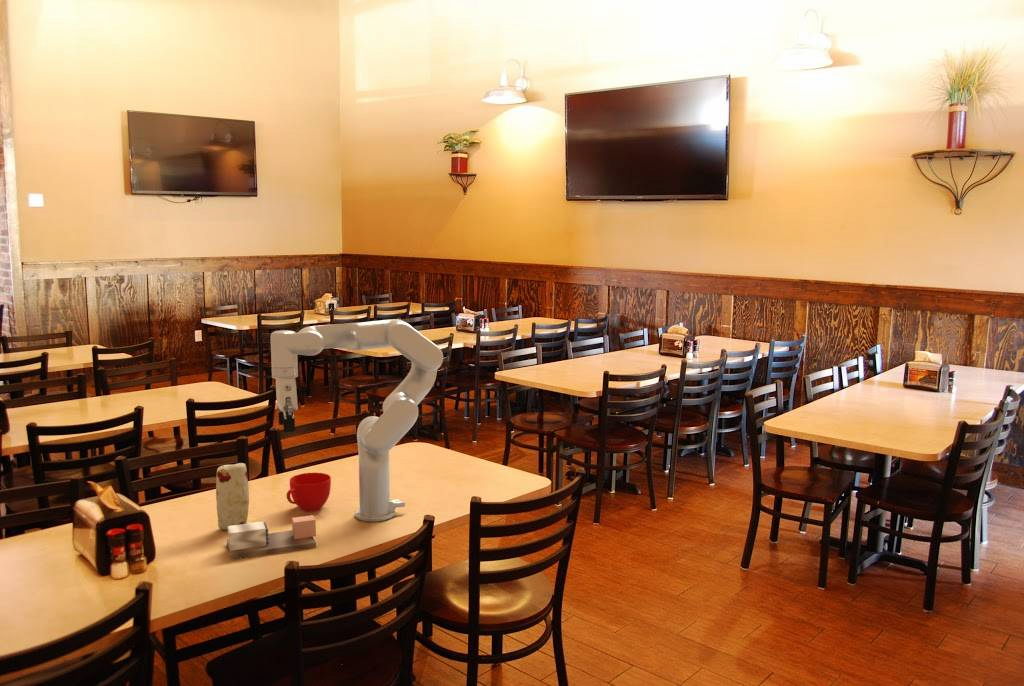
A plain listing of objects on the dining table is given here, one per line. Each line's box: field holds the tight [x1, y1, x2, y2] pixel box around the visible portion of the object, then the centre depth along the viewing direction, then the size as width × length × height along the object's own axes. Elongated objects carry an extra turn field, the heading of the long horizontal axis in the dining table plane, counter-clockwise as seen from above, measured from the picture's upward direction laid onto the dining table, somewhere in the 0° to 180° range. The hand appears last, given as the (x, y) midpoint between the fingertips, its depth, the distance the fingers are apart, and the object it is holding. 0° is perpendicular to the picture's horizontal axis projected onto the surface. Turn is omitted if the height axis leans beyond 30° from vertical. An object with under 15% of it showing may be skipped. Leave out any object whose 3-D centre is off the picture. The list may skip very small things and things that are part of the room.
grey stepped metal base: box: [226, 521, 317, 561], centre depth 232 cm, size 23×12×6 cm, turn 114°
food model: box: [215, 462, 250, 531], centre depth 244 cm, size 10×7×20 cm
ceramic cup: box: [286, 472, 332, 512], centre depth 261 cm, size 13×17×10 cm
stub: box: [291, 514, 317, 539], centre depth 235 cm, size 6×4×5 cm, turn 114°
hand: (286, 428), depth 244 cm, fingers open, 9 cm apart
